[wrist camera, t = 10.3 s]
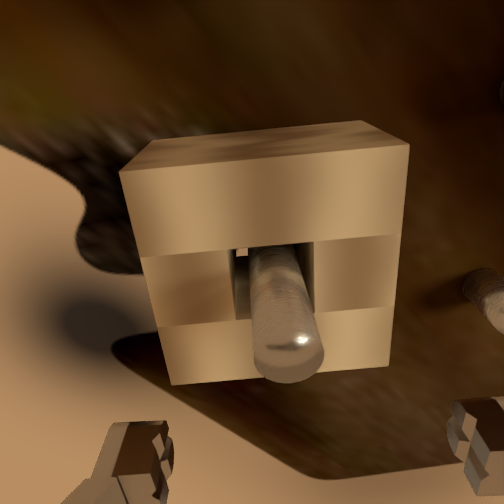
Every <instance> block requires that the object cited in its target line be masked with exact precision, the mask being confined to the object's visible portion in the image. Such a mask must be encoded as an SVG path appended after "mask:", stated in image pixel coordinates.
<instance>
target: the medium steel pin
mask: <svg viewBox="0 0 504 504" xmlns="http://www.w3.org/2000/svg"><path fill="white" fill-rule="evenodd" d="M499 99H500V101H501V103H502V105H503V106H504V77H503V79H502V81H501V84H500V87H499Z"/></svg>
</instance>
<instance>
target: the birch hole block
mask: <svg viewBox="0 0 504 504" xmlns="http://www.w3.org/2000/svg"><path fill="white" fill-rule="evenodd" d="M409 148H410V144H408V143H406V142H404V141H402V140H400V139H398V138H396V137H394V136H392V135H390V134H388V133H386V132H384V131H382V130H380V129H378V128H376V127H374V126H372V125H370V124H368V123H366V122H364V121H362V120H357V121H347V122H336V123H326V124H315V125H305V126H295V127H284V128H274V129H263V130H253V131H242V132H232V133H222V134H211V135H201V136H190V137H180V138H169V139H159V140H152V141H151V142H150V143H149V144H148V145H147V146H146V147H145V148H144V149H143V150H142V151H140V152H139V153H138V154H137V155H136V156H135V157H134V158H133V159H132V160H131V161H130V162H129V163H128V164H127V165H126V166H124V167H123V168H122V169H121V170H120V171H119V175H120V179H121V183H122V187H123V191H124V196H125V200H126V204H127V208H128V212H129V216H130V220H131V224H132V228H133V232H134V236H135V240H136V244H137V248H138V252H139V256H140V260H141V264H142V268H143V272H144V276H145V280H146V284H147V288H148V292H149V296H150V301H151V305H152V308H153V313H154V317H155V321H156V324H157V329H158V333H159V337H160V341H161V345H162V349H163V353H164V357H165V361H166V365H167V369H168V373H169V377H170V381H171V385H181V384H192V383H203V382H215V381H226V380H237V379H248V378H260V377H264V376H262V375H261V374H260V373H259V372H258V370H257V369H256V367H255V364H254V358H253V339H252V320H251V300H250V281H249V262H248V256H238V257H236V249H238V248H249V247H260V246H271V245H282V244H292V243H296V251H295V252H296V256H297V259H298V263H299V266H300V270H301V273H302V276H303V280H304V283H305V287H306V290H307V293H308V297H309V300H310V304H311V307H312V311H313V314H314V317H315V321H316V324H317V328H318V331H319V334H320V338H321V341H322V345H323V348H324V360H323V363H322V365H321V367H320V368H319V369H318V370H317V372H327V371H338V370H350V369H361V368H372V367H383V366H389V355H390V345H391V335H392V324H393V314H394V304H395V293H396V283H397V273H398V262H399V252H400V241H401V231H402V221H403V210H404V200H405V190H406V179H407V169H408V159H409ZM315 373H316V372H315Z"/></svg>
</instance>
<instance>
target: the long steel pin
mask: <svg viewBox="0 0 504 504" xmlns="http://www.w3.org/2000/svg"><path fill="white" fill-rule="evenodd" d="M248 262H249V281H250V300H251V320H252V339H253V358H254V364H255V367H256V369H257V370H258V372H259V373H260V374H261V375H262V376H264V377H265V378H267V379H269V380H271V381H274V382H278V383H295V382H299V381H302V380H305V379H307V378H309V377H310V376H312V375H313V374H314V373H315V372H317V370H318V369H319V368H320V367H321V365H322V363H323V360H324V348H323V345H322V341H321V338H320V334H319V331H318V328H317V324H316V321H315V317H314V314H313V311H312V307H311V304H310V300H309V297H308V293H307V290H306V287H305V283H304V280H303V276H302V273H301V270H300V266H299V263H298V259H297V256H296V252H295V249H294V246H293V243H292V244H282V245H271V246H260V247H249V248H248Z"/></svg>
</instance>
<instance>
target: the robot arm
mask: <svg viewBox="0 0 504 504" xmlns="http://www.w3.org/2000/svg"><path fill="white" fill-rule="evenodd" d="M451 411H452V413H453V416H452V417H451V418H450V419H449V420H448V424H447V434H448V440H449V443H450V446H451V448H452V450H453V452H454V454H455V456H456V457H458V458H459V459H460V460H462V461H463V462H464V463H465V467H464V473H465V475H466V477H467V479H468V481H469V483H470V485H471V486H472V488H473V490H474V492H475V494H476V496H497V495H498V496H499V495H504V396H502V397H491V398H490V397H483V398H471V399H459V400H454V401H453V402H452V405H451ZM168 430H169V427H168V424H167V421H165V420H163V421H140V422H121V423H113V424H112V425H111V427H110V428H109V431H108V433H107V436H106V438H105V441H104V444H103V446H102V449H101V452H100V454H99V457H98V460H97V463H96V465H95V468H94V471H93V473H92V476H91V478H90V479H85V480H84V481H83V482H82V483H81V484H80V485H79V486H78V487H77V488H76V489H75V490H74V491H73V492H72V493H71V494H70V495H69V496H68V497H67V498H66V499H65V500H64V501H63V502H62V503H61V504H166V503H167V497H168V492H169V489H168V486H167V482H166V480H167V479H168V478H169V477H170V476H171V474H172V470H173V464H174V448H173V442H172V439H171V438H170V437H169V436H167V435H168Z"/></svg>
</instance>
